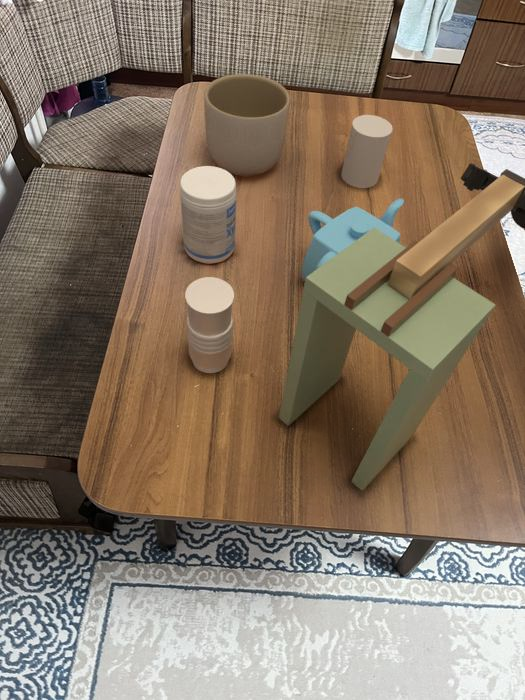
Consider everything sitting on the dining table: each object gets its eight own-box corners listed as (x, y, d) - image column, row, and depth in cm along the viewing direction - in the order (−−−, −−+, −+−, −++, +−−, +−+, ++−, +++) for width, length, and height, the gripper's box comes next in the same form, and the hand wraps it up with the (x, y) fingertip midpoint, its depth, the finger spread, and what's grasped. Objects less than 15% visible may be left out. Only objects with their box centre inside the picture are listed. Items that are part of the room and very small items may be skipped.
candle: (241, 359, 86) (245, 296, 74) (207, 383, 82) (206, 321, 70) (213, 333, 88) (213, 269, 76) (180, 355, 85) (174, 292, 73)
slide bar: (517, 208, 65) (532, 181, 62) (411, 302, 55) (423, 276, 52) (493, 194, 67) (506, 168, 64) (385, 284, 56) (394, 258, 53)
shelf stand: (411, 437, 79) (502, 294, 54) (362, 491, 74) (438, 360, 48) (329, 372, 85) (377, 216, 60) (278, 417, 80) (307, 266, 54)
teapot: (391, 322, 93) (414, 267, 82) (297, 311, 92) (309, 254, 82) (385, 250, 103) (405, 193, 93) (301, 241, 103) (312, 182, 93)
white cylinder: (350, 161, 120) (362, 110, 111) (383, 174, 118) (398, 123, 109) (335, 179, 116) (345, 127, 106) (368, 192, 114) (383, 142, 104)
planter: (290, 149, 121) (298, 83, 109) (272, 193, 111) (279, 126, 99) (218, 134, 123) (218, 67, 111) (194, 176, 113) (192, 108, 101)
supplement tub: (238, 263, 98) (241, 197, 87) (187, 268, 97) (183, 202, 85) (229, 228, 104) (231, 162, 92) (180, 232, 102) (176, 166, 90)
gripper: (595, 267, 85) (583, 276, 67) (461, 191, 94) (421, 182, 77) (629, 225, 81) (626, 223, 64) (487, 151, 90) (451, 132, 73)
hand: (514, 201), depth 70 cm, fingers open, 13 cm apart
